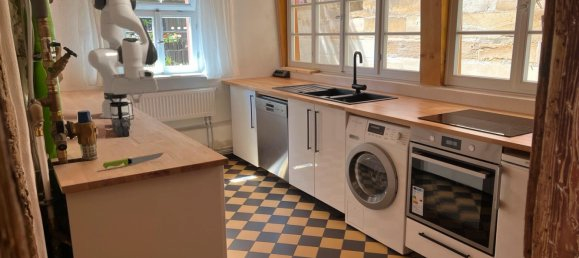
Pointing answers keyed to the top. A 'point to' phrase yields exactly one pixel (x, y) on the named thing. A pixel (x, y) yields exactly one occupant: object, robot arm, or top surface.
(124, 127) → the tongs arm
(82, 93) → the top surface
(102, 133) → the lock clip
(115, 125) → the tongs base
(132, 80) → the robot arm
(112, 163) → the kitchen knife
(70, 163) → the top surface
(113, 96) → the french press
